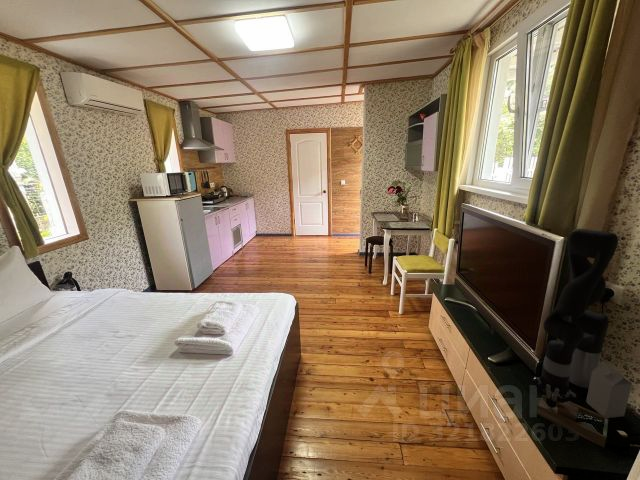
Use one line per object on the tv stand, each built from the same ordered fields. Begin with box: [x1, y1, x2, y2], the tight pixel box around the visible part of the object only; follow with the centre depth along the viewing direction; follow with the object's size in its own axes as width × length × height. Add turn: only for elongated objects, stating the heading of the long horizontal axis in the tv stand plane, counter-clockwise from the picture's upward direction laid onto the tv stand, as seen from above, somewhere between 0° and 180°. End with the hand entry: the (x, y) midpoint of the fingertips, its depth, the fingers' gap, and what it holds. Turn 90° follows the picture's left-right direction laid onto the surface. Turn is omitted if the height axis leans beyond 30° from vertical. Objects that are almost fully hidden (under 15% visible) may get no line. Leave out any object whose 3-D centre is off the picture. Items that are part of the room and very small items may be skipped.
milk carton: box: [585, 361, 633, 419], centre depth 97 cm, size 7×7×19 cm
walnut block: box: [557, 402, 579, 422], centre depth 97 cm, size 5×5×4 cm
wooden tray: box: [535, 393, 609, 448], centre depth 97 cm, size 10×18×4 cm, turn 41°
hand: (550, 405), depth 101 cm, fingers closed
